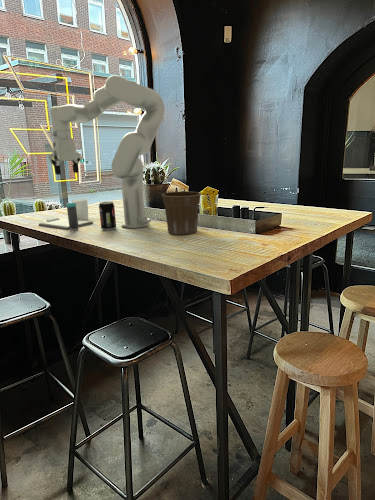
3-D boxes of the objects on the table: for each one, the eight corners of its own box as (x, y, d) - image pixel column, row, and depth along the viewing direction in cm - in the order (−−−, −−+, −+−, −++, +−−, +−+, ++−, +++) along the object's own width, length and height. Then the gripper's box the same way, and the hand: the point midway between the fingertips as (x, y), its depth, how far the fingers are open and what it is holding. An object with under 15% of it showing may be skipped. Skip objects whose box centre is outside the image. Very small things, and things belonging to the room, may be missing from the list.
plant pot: (206, 228, 160) (205, 190, 156) (197, 237, 145) (195, 196, 141) (170, 227, 165) (168, 191, 160) (158, 236, 150) (155, 196, 145)
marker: (81, 229, 169) (77, 202, 165) (73, 231, 165) (70, 204, 162) (75, 228, 171) (71, 202, 168) (67, 230, 168) (64, 203, 164)
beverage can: (113, 230, 163) (110, 203, 159) (98, 230, 164) (96, 203, 161) (118, 227, 169) (116, 201, 166) (105, 227, 170) (102, 201, 167)
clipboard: (92, 223, 180) (92, 219, 180) (67, 229, 169) (66, 225, 168) (64, 220, 193) (64, 216, 192) (38, 225, 181) (38, 221, 180)
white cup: (85, 220, 189) (83, 201, 186) (71, 220, 190) (68, 201, 187) (91, 217, 196) (89, 198, 193) (77, 217, 197) (75, 199, 195)
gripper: (50, 135, 160) (55, 175, 165) (82, 134, 173) (87, 172, 178) (40, 136, 165) (46, 175, 169) (73, 135, 178) (77, 172, 182)
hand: (67, 173), depth 174 cm, fingers open, 9 cm apart
